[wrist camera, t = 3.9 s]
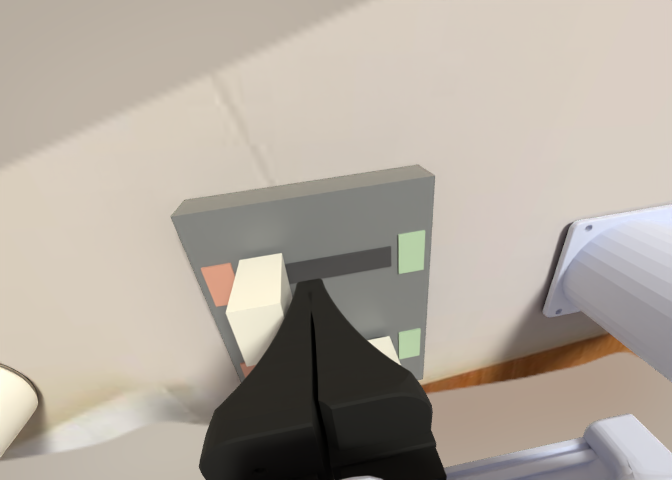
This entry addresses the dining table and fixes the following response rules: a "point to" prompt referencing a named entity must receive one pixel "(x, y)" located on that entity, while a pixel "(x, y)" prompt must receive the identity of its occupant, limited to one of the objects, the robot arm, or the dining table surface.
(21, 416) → the can
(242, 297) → the block
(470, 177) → the dining table surface
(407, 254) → the panel
